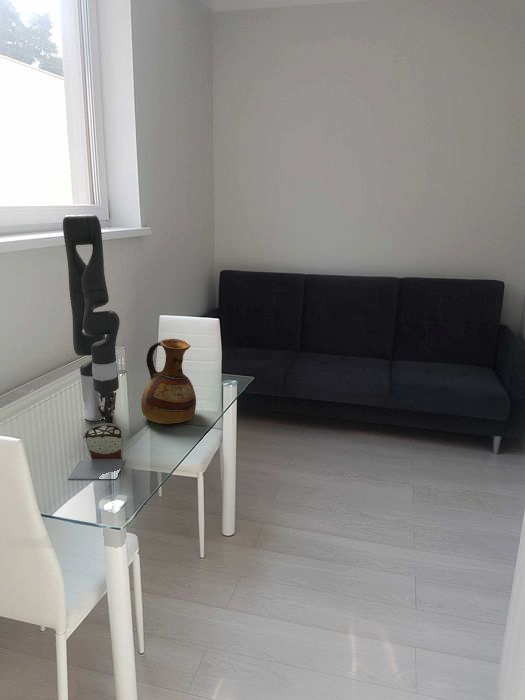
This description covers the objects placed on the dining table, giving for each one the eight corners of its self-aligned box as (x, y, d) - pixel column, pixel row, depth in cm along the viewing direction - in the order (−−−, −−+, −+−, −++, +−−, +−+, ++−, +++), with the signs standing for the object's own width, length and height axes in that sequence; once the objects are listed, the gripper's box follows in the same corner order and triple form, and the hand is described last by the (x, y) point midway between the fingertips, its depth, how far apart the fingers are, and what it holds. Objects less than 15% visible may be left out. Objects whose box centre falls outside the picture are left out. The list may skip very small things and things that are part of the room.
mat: (80, 460, 164) (79, 459, 163) (125, 460, 164) (125, 459, 164) (68, 479, 153) (67, 478, 153) (116, 479, 153) (116, 478, 153)
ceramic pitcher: (186, 432, 183) (183, 350, 175) (132, 427, 187) (127, 346, 179) (203, 410, 202) (202, 335, 193) (154, 406, 206) (150, 332, 197)
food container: (130, 447, 170) (127, 421, 166) (126, 459, 165) (123, 433, 160) (91, 447, 170) (87, 422, 165) (86, 459, 164) (82, 433, 160)
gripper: (99, 367, 168) (103, 417, 173) (86, 382, 156) (91, 435, 161) (122, 367, 168) (126, 417, 174) (112, 382, 156) (116, 435, 161)
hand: (109, 426), depth 167 cm, fingers closed
